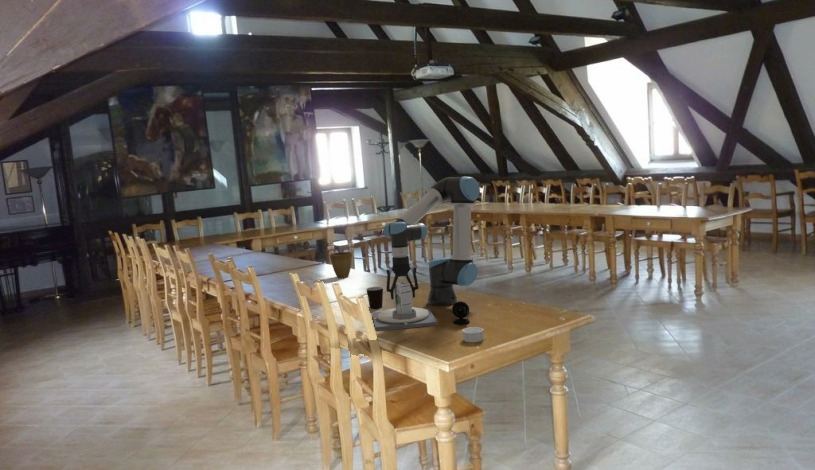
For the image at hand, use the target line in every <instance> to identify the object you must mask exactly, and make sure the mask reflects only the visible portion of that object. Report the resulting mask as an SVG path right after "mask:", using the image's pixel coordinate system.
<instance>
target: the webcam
mask: <svg viewBox="0 0 815 470" xmlns="http://www.w3.org/2000/svg"><path fill="white" fill-rule="evenodd" d="M451 311H452V315H453V316H454V317H455V319H453V321H452V324H453V325H455V326H456V325H457V326H466V325H469V324H470V323H471V322H470V319H468V318H466V317H467V316H468V315H469V314H470V307H469V305H468V304H467V303H466V301H465V302H464V301H457V302H456V303H455V304H452V307H451Z"/></svg>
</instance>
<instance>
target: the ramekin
mask: <svg viewBox="0 0 815 470" xmlns="http://www.w3.org/2000/svg"><path fill="white" fill-rule="evenodd" d="M484 330H485V329H484V328H482V327H479V326H470V327H464V328H462V329H461V332H462V338H463V341H464V342H466V343H472V344H473V343H479V342H482V341H483V340H484Z"/></svg>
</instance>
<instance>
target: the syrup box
mask: <svg viewBox="0 0 815 470" xmlns="http://www.w3.org/2000/svg"><path fill="white" fill-rule="evenodd" d="M411 290H412V289H411V287H410V283H409V282H406V281H400V282H396V285H395V288H394V291H393V292H395V300H396V307H395V308H396V314H408V313H412V307H413V305H412V304H411Z"/></svg>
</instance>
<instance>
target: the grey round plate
mask: <svg viewBox="0 0 815 470" xmlns="http://www.w3.org/2000/svg"><path fill="white" fill-rule="evenodd" d="M423 308H424V307H417V306H416V307H415V306H412V313H408V314H396V307H394V308H389V309H385V310H382V311H379V312H380V313H378V320H380V321H382V322H386V323H409V322H416V321H420V320H423V319H425V318H427V317H428V316H429V312H428V310H426V309H423Z"/></svg>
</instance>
